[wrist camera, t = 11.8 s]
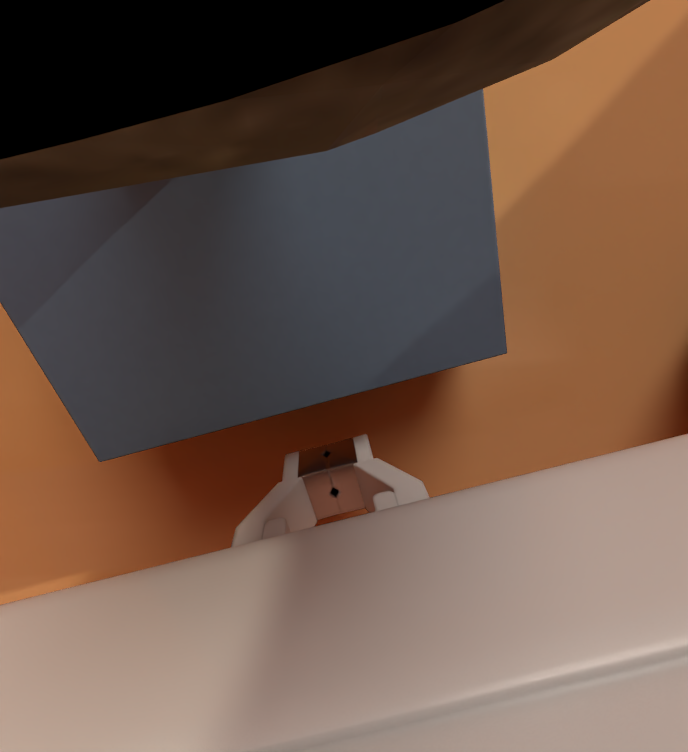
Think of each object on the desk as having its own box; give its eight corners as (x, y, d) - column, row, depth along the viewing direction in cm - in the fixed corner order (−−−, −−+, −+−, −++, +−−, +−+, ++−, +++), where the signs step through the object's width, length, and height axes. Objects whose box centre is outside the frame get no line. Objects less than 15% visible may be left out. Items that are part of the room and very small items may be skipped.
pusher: (431, 97, 11) (479, 46, 8) (462, 322, 14) (507, 353, 11) (43, 207, 11) (-63, 202, 8) (147, 407, 14) (98, 463, 11)
